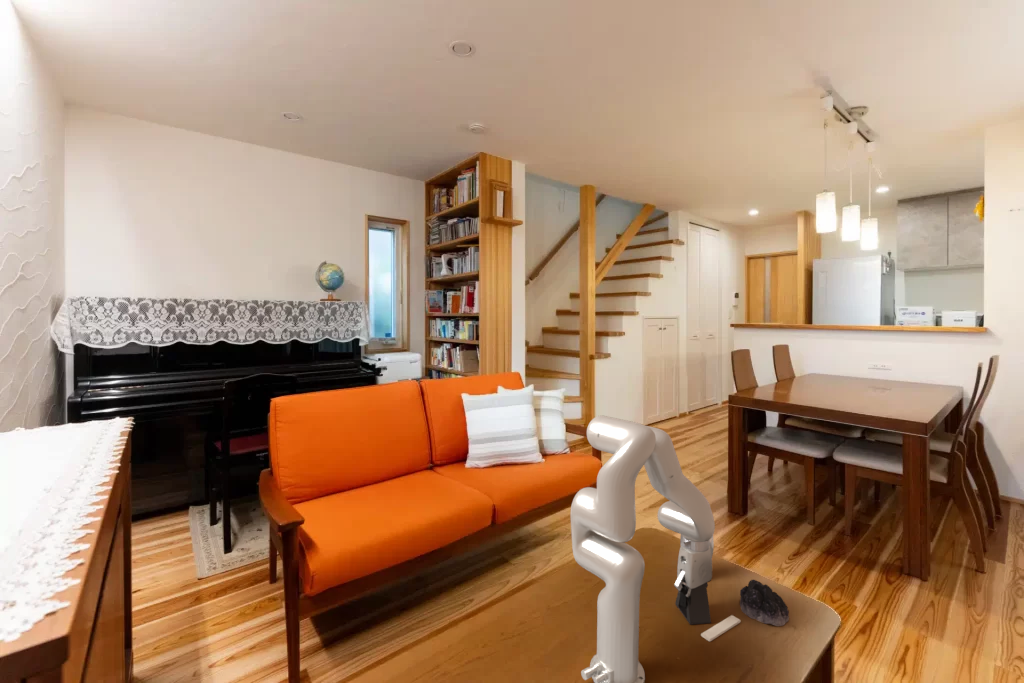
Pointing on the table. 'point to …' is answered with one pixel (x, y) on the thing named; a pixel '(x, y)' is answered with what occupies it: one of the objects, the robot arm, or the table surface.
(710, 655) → the table surface
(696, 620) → the phone stand
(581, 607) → the table surface
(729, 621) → the cream panel
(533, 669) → the table surface
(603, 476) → the robot arm
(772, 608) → the black rock
